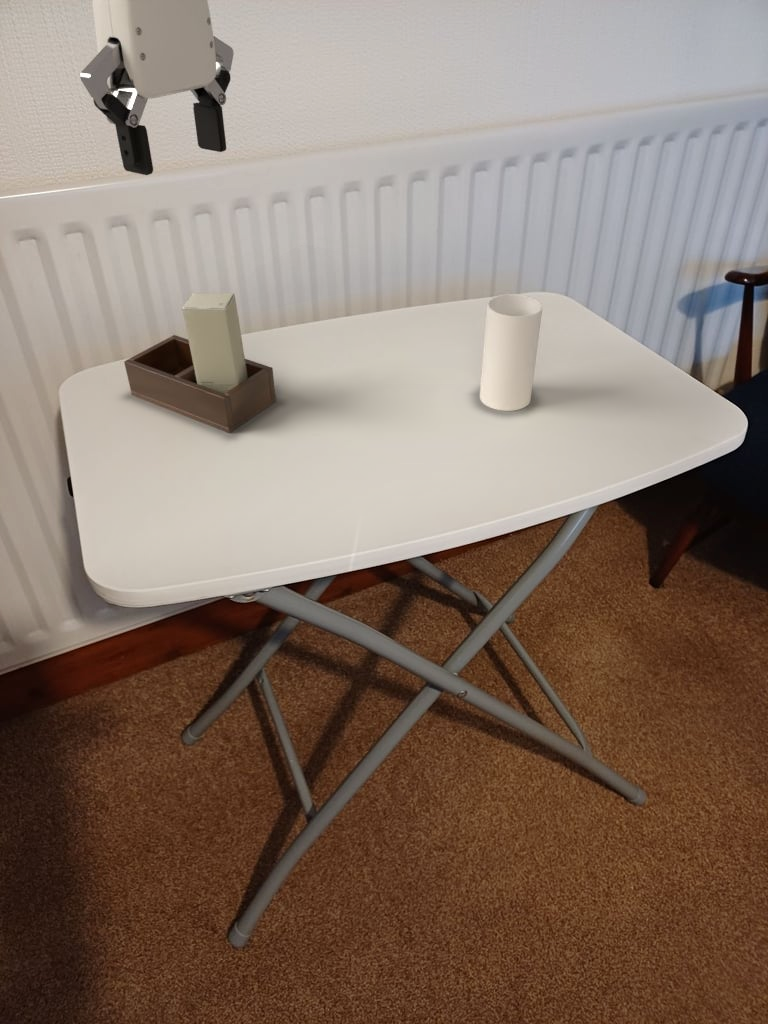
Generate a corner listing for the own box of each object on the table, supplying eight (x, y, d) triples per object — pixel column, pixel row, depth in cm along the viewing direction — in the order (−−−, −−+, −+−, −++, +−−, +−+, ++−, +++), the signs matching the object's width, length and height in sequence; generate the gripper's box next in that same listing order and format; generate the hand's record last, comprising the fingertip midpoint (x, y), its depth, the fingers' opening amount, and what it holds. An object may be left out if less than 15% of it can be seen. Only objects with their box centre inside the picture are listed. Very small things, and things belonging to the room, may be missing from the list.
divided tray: (229, 433, 90) (224, 398, 87) (131, 394, 96) (123, 361, 94) (276, 401, 95) (272, 367, 92) (180, 367, 102) (174, 334, 99)
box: (251, 393, 95) (238, 292, 87) (242, 412, 92) (228, 308, 84) (208, 391, 96) (192, 290, 87) (198, 410, 92) (180, 307, 84)
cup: (493, 414, 93) (502, 320, 85) (471, 390, 97) (478, 298, 90) (539, 405, 94) (552, 312, 87) (516, 381, 99) (526, 290, 91)
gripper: (185, -68, 71) (210, 137, 81) (23, -62, 59) (77, 175, 70) (249, -66, 68) (266, 147, 78) (91, -60, 56) (136, 189, 67)
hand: (177, 160), depth 74 cm, fingers open, 9 cm apart
